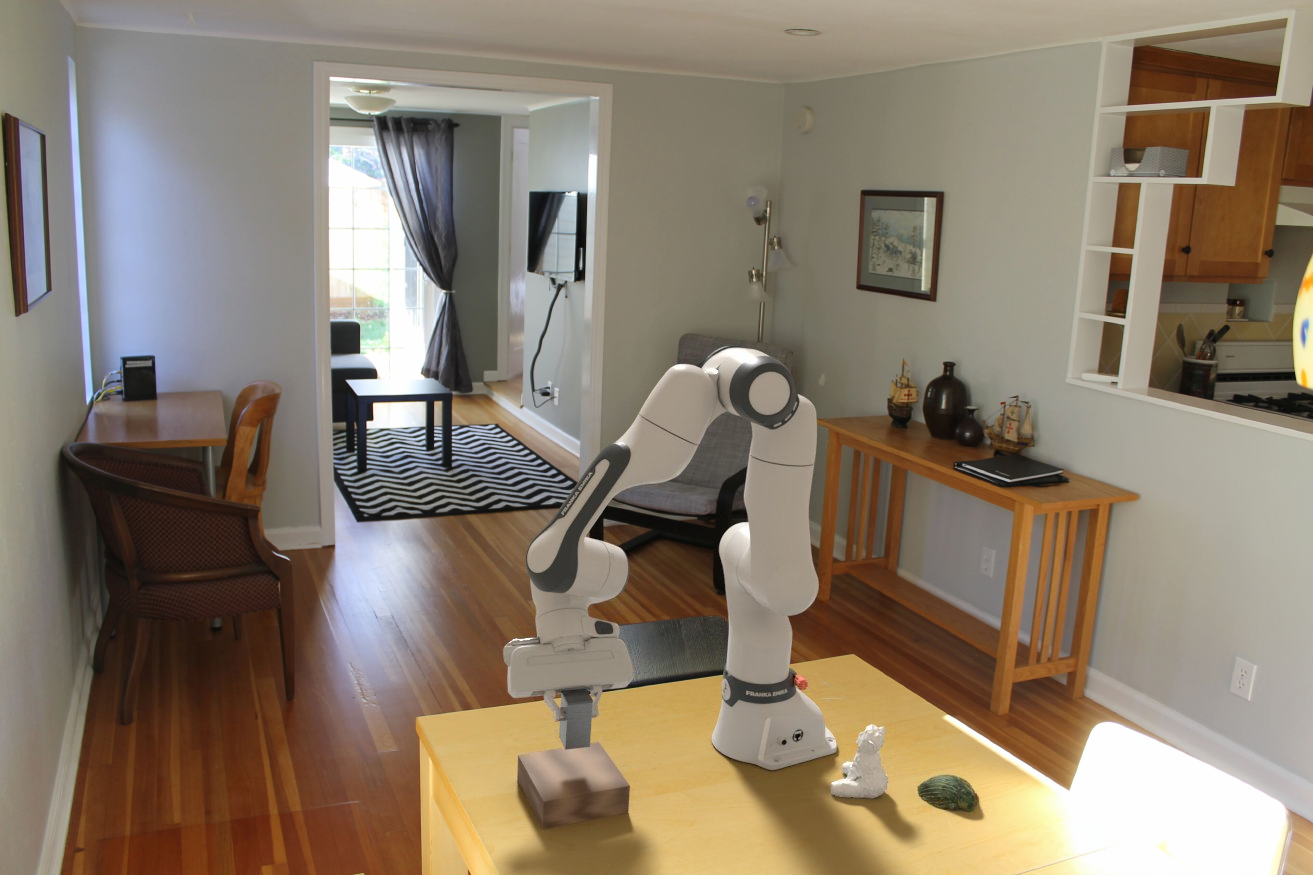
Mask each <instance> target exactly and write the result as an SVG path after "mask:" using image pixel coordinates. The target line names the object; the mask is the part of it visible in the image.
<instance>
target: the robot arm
mask: <svg viewBox="0 0 1313 875" xmlns="http://www.w3.org/2000/svg"><path fill="white" fill-rule="evenodd" d="M725 413H730V414H732V415H734V416H739V417H741V418H742V419H744V420H746V421H747V422H750V425H751V431H752V434H751V435H752V437H751V442H750V448H749V454H748V462H747V467H746V468H747V469H746V476H745V484H744V491H743V502H744V506H745V509H746V513H747V520H748V521H747V522H744V521H743V522H739V523H736V524H734V525H732V526H730V527H729V528H728V529H727V530H726V531H725V532H724V534H723V535H722V537H721V539H720V542H719V546H718V553H719V557H720V560H721V561H720V562H721V565H722V570H723V575H724V576H723V577H724V584H725V585H724V586H725V588H724V589H725V596H726V598H725V599H726V606H727V615H728V638H727V639H728V641H727V656H726V663H725V665H724V666H723V675H722V682H721V698H722V700H721V705H720V710H719V714H718V718H717V721H716V724H715V728H714V729H713V732H712V734H711V743H712V745H713V746H714V747H715V749H716V750H717V751H719V752H720V753H721V754H723V755H725V756H726V757H729V758H731V759H733V760H736V761H739V762H743V763H747V764H753V765H757V766H758V767H761V768H763V769H766V770H770V771H775V770H779V769H783V768H787V767H789V766H793V765H797V764H801V763H805V762H808V761H811V760H815V759H818V758H822V757H825V756H830V755H832V754H835V753H837V751H838V750H837V749H838V747H837V746H838V744H837V740H836V738H835V736H834V735H833V733H832V731H831V730H829V728H828V727H827V726H826V722H825V718H824V715H823V712H822V711H821V709H820V707H819V706H818V705H817V704H816V703H815V701H813V700H812V699H811V698H810V697H809V696H807V695H806V694H805V693H803V691H804V690H806V689H807V688H808V687H809V681H808V680H807V679H806V678H804V676H803V675H798V673H797V672H796V671H795V669H793V668H791V667H790V665H791V664H790V663H791V654H792V645H793V644H792V641H793V629H792V625H791V622H790V619H789V616H795V615H798V614H802V613H803V612H804V611H806V610H808V609H809V607H811V605H812V604H813V603H814V602H815V600H816V598H817V596H818V592H819V589H820V588H819V586H820V584H819V583H820V582H819V581H820V580H819V576H818V574H817V571H816V569H815V566H814V561H813V556H812V545H811V532H810V511H809V510H810V508H809V507H810V499H811V491H812V483H813V475H814V468H815V463H816V455H817V454H816V453H817V446H818V445H817V439H818V421H817V420H818V419H817V410H816V407H815V405H814V404H813V403H812V401H810V400H809V399H808V398H806V396H803V395H801V394H798V392H797V389H796V384H795V381H794V378H793V375H792V373H791V372H790V371H789V369H788V367H787V366H786V365H785V364H783V362H781V361H780V360H778V359H777V358H775V357H773V356H770V355H768V354H766V353H764V352H762V351H760V350H758V349H755V348H754V349H753V348H746V347H744V346H741V345H727V346H723V347H720V348H717V349H716V350H714V351H712V352H711V353H710V354H709V355H708V356H707V357H706V358H705V359H703V360H702V361H700V362H699V363H697V364H696V365H694V364H688V363H680V364H675V365H673V366H671V367H669V368H668V369H667V371H665V373H664V375H663V376H662V377H661V378H660V380H659V381H658V382H657V383H656V385H655V386H654V388H653V389H652V390H651V392H650V394H649V395H648V397H647V398H646V400H645V402H644V403H643V405H642V407H641V408H640V410H639V412H638V414H637V416H636V418H635V420H633V422H632V423H631V425H630V427H629V428H628V429H627V430H626V431H625V433H623V435H622V436H620V437H619V439H617V440H616V441H615V442H613V443H610V444H608V445H607V446H605V447H604V448H603V449H602V450H600V452H599V453H598V454H597V455H596V457H595V458H594V459H593V461H592V462H591V463H590V465H589V466H588V467H587V469H586V470H585V472H583V474H582V476H581V478H580V479H579V480H578V481H577V483H576V484H575V486H574V488H572V491H570V493H569V494H568V496H567V497H566V499H565V500H564V502H562V505H561V506H560V507H559V508H558V510H557V512H556V513H555V515H554V516H553V517H552V518H551V520H550V521H549V522H548V523H547V524H546V525H545V526H544V527H543V528H541V530H540V531H539V532H538V533H537V534H536V535H535V537H534V538H533V539H532V541H530V544H529V546H528V548H527V551H526V554H525V566H526V572H527V574H528V576H529V581H530V582H529V583H530V591H531V598H532V601H533V603H534V605H535V620H534V621H535V628H536V634H537V635H536V637H528V638H521V639H520V638H514V639H511V641H510V642H507V643H505V645H504V647H503V649H502V655H503V661H504V664H505V665H506V666H507V677H506V678H507V680H506V681H507V693H508V694H509V695H510V696H511V697H512V698H513V699H520V698H529V697H539V696H543V700H544V703H545V705H547V707H548V708H549V709H550V710H551V712H552V714H553V721H554V722H560V721H564V719H565V713H564V711H565V710H564V707H561V706H559V705H558V704H557V702H556V700H555V697H556V695H561V691H565V690H576V689H587V691H588V692H590V693H589V694H590V696H591V698H593V697H594V698H593V704H592V719H593V718H595V719H596V718H597V717H599V715H600V714H599V713H600V712H599V703H600V700H601V697H602V695H603V691H604V690H613V689H621V688H622V689H623V688H627V687H628V685H629V684H630V683H631V682H632V680H633V678H634V668H633V664H632V660H631V657H630V656H631V655H630V654H629V651H628V648H627V645H626V644H625V642H624V641H623V640H622V639H620V638H619V637H620V636H619V635H620V631H621V630H620V626H619V624H618V623H616V622H612V621H608V620H603V619H600V618H595V617H593V616H590V615H589V610H588V608H589V607H590V605H595V604H601V603H604V602H607V601H611V600H613V599H615V598H616V597H619V595H620V594H621V593H622V592H623V591H624V590H625V588H626V586H627V584H628V581H629V579H630V578H629V577H630V562H629V558H628V556H627V554H626V552H625V551H624V550H623V549H622V548H621V547H619V546H617V545H615V544H612V543H609V542H608V541H607V542H606V541H603V540H599V539H595V538H591V537H588V536H587V534H588V533H589V532H590V530H591V529H592V528H593V526H594V525H595V523H596V522H597V520H598V519H599V517H600V516H601V515H602V514H603V511H604V510H605V508H607V505H608V504H609V503H610V501H612V499H613V498H614V497H616V496H617V495H618V494H619V493H621V492H623V491H625V490H626V489H627V490H628V489H629V488H633V487H636V486H638V487H639V486H642V485H643V486H644V485H653V484H661V483H666V482H668V481H670V480H673V479H674V478H677V477H678V476H680V475H681V474H682V473H683V471H684V470H685V469H686V468H687V466H688V465H689V464H690V462H691V460H693V457H694V455H695V453H696V451H697V449H698V447H699V445H700V444H701V441H702V439H703V438H704V436H705V434H706V431H707V429H708V427H709V426H710V425H711V424H712V423H713V422H714V420H716V418H719V416H720V415H722V414H725Z"/></svg>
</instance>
